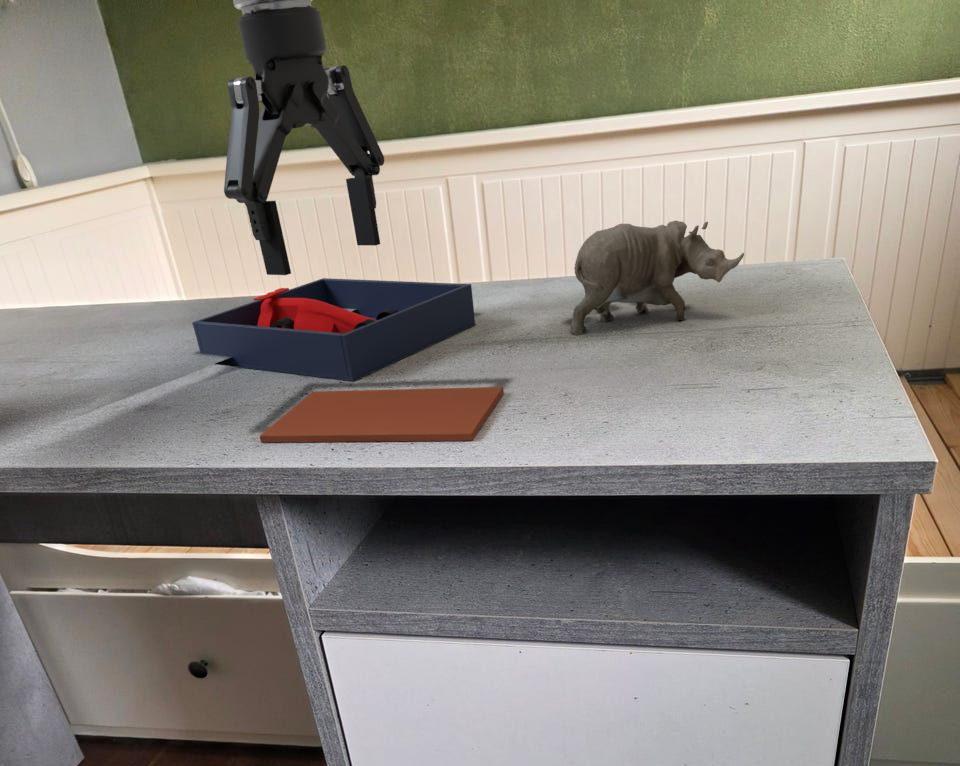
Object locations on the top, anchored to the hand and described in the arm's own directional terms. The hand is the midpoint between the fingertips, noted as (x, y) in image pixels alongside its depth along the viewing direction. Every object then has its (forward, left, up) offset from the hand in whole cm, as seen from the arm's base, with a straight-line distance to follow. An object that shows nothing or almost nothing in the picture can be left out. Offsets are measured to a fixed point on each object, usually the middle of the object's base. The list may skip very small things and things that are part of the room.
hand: (326, 259), depth 91 cm
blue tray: (0, 0, -9) cm, 9 cm away
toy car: (0, 0, -9) cm, 9 cm away
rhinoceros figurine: (+29, +16, -9) cm, 34 cm away
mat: (+21, -17, -9) cm, 28 cm away
